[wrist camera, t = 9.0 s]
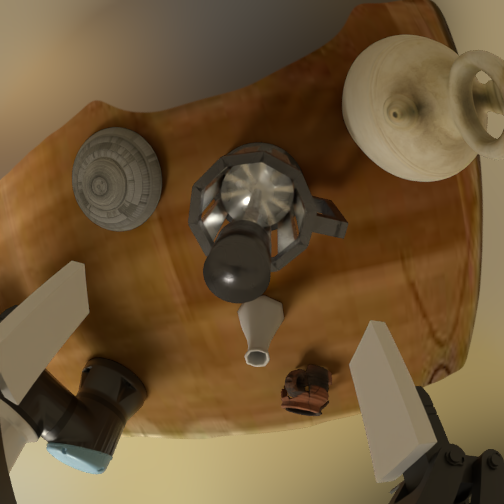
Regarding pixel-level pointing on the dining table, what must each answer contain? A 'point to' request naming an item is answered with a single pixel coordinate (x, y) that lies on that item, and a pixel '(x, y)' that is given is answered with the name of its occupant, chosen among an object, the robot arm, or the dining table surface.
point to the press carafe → (287, 234)
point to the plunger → (247, 232)
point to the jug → (423, 106)
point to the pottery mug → (302, 399)
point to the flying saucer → (117, 179)
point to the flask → (260, 327)
